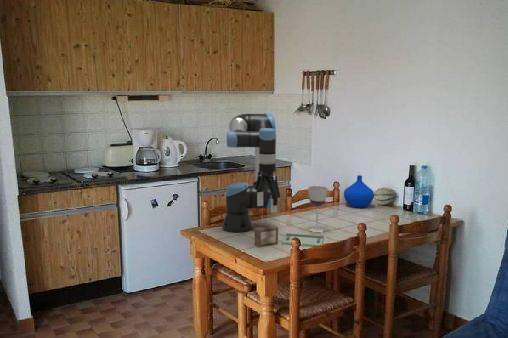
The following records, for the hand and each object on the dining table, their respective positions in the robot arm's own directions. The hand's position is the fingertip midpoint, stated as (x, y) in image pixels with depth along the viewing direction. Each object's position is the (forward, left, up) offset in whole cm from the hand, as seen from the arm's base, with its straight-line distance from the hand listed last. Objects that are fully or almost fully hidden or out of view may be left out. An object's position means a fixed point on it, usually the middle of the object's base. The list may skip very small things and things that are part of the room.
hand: (266, 209), depth 209 cm
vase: (+39, +86, -17) cm, 96 cm away
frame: (0, 0, -17) cm, 17 cm away
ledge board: (+16, +8, -17) cm, 24 cm away
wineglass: (+20, +28, -17) cm, 38 cm away
